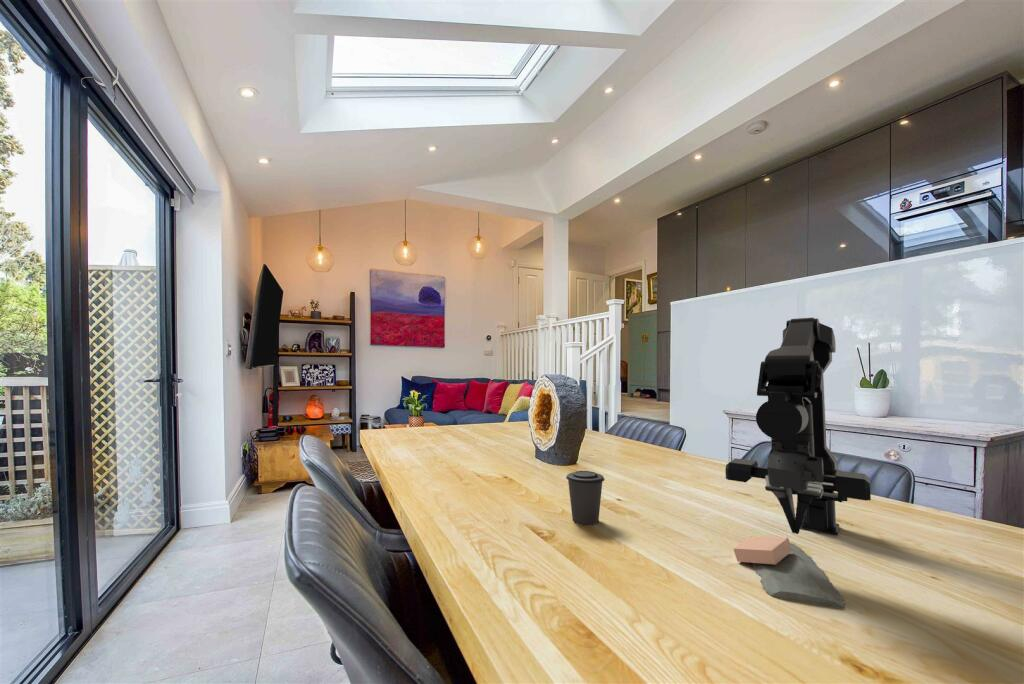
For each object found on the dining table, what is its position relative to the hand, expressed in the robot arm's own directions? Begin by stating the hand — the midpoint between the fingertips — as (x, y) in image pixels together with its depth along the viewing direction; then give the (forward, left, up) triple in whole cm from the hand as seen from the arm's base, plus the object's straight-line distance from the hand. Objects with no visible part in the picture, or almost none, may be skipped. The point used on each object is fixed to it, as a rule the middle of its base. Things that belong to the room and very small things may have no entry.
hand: (795, 532), depth 67 cm
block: (0, -2, -3) cm, 4 cm away
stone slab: (-1, -2, -7) cm, 7 cm away
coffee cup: (+1, -37, -6) cm, 38 cm away
